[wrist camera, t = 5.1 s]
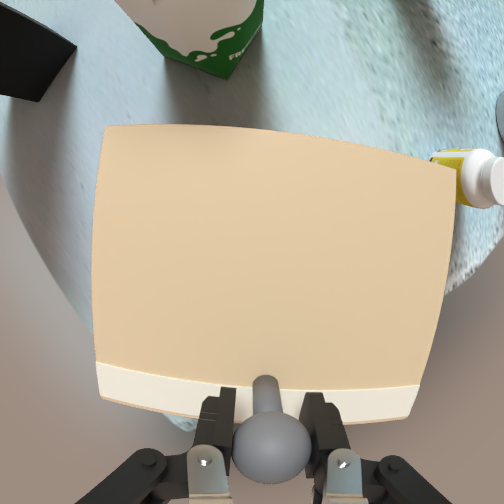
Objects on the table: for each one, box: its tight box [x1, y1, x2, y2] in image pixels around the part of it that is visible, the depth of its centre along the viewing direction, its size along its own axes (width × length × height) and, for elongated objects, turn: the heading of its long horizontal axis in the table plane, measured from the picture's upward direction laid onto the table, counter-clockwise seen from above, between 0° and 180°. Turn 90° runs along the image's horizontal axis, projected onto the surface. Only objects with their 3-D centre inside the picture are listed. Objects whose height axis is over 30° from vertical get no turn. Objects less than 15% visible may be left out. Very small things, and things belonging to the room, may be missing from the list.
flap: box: [91, 124, 456, 484], centre depth 11 cm, size 20×16×7 cm
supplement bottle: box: [427, 148, 504, 209], centre depth 21 cm, size 5×5×10 cm
